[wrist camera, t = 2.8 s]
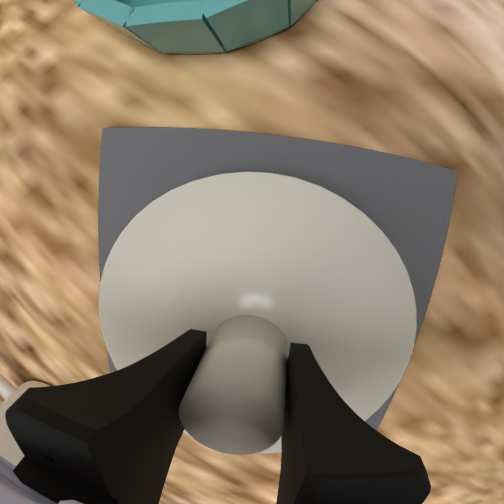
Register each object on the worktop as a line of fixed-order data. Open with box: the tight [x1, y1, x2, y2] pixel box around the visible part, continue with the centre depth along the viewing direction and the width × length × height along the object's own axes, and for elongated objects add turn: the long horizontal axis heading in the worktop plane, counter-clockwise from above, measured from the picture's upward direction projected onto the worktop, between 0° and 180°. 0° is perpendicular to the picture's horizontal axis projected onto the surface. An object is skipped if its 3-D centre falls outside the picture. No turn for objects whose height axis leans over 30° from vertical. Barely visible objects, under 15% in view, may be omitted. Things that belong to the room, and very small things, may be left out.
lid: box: [99, 171, 416, 455], centre depth 10 cm, size 13×13×5 cm
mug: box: [0, 374, 50, 466], centre depth 15 cm, size 12×8×10 cm
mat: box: [98, 127, 458, 431], centre depth 15 cm, size 16×16×1 cm
